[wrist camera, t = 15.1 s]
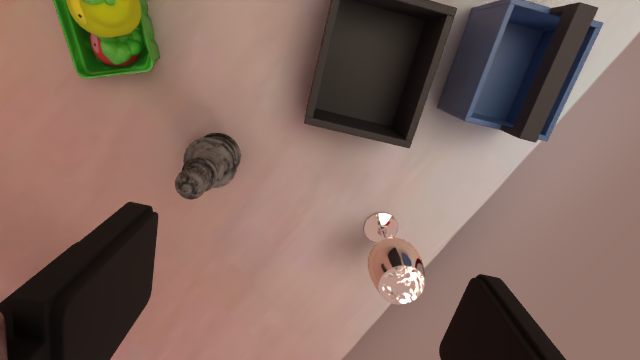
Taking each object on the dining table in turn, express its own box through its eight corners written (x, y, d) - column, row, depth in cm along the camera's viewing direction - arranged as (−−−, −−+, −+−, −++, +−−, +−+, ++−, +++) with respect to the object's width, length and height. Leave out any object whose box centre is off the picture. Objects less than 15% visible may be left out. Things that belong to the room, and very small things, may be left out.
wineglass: (353, 215, 45) (366, 269, 34) (397, 202, 45) (424, 253, 34) (365, 251, 47) (380, 314, 36) (407, 240, 47) (436, 300, 35)
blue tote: (472, 7, 37) (537, -11, 26) (546, 28, 38) (640, 19, 27) (437, 107, 41) (481, 129, 30) (505, 125, 41) (573, 151, 31)
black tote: (333, -12, 36) (337, -26, 30) (432, 15, 37) (457, 8, 31) (306, 111, 41) (304, 123, 34) (394, 132, 42) (409, 148, 35)
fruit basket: (71, -42, 35) (-35, -82, 24) (158, -53, 35) (89, -98, 24) (107, 76, 39) (29, 86, 28) (185, 67, 39) (137, 73, 28)
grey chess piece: (242, 132, 41) (215, 162, 30) (243, 178, 43) (218, 223, 32) (192, 128, 41) (146, 158, 30) (195, 176, 43) (153, 220, 32)
